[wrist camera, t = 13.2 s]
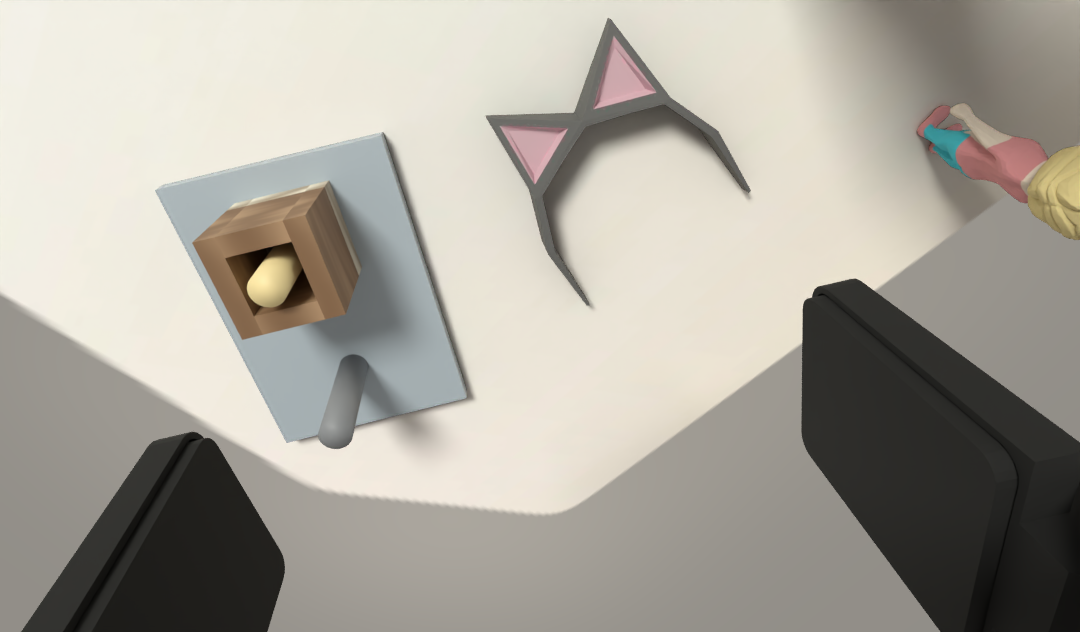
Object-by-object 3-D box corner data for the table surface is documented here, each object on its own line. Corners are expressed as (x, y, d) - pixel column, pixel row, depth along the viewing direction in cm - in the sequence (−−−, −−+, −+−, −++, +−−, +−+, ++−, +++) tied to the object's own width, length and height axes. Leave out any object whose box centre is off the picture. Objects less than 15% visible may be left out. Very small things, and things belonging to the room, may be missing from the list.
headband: (589, 310, 44) (456, 147, 36) (579, 289, 47) (452, 133, 39) (755, 194, 42) (651, -8, 34) (734, 179, 44) (633, -12, 36)
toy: (974, 146, 44) (1198, 210, 31) (918, 195, 45) (1110, 277, 32) (930, 79, 41) (1155, 117, 28) (872, 132, 42) (1061, 193, 29)
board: (383, 131, 38) (364, 167, 30) (466, 389, 48) (469, 468, 40) (163, 185, 38) (84, 234, 30) (290, 432, 48) (256, 521, 39)
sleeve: (328, 180, 38) (304, 214, 32) (361, 267, 41) (345, 314, 35) (234, 203, 38) (191, 242, 32) (274, 288, 41) (242, 339, 35)
